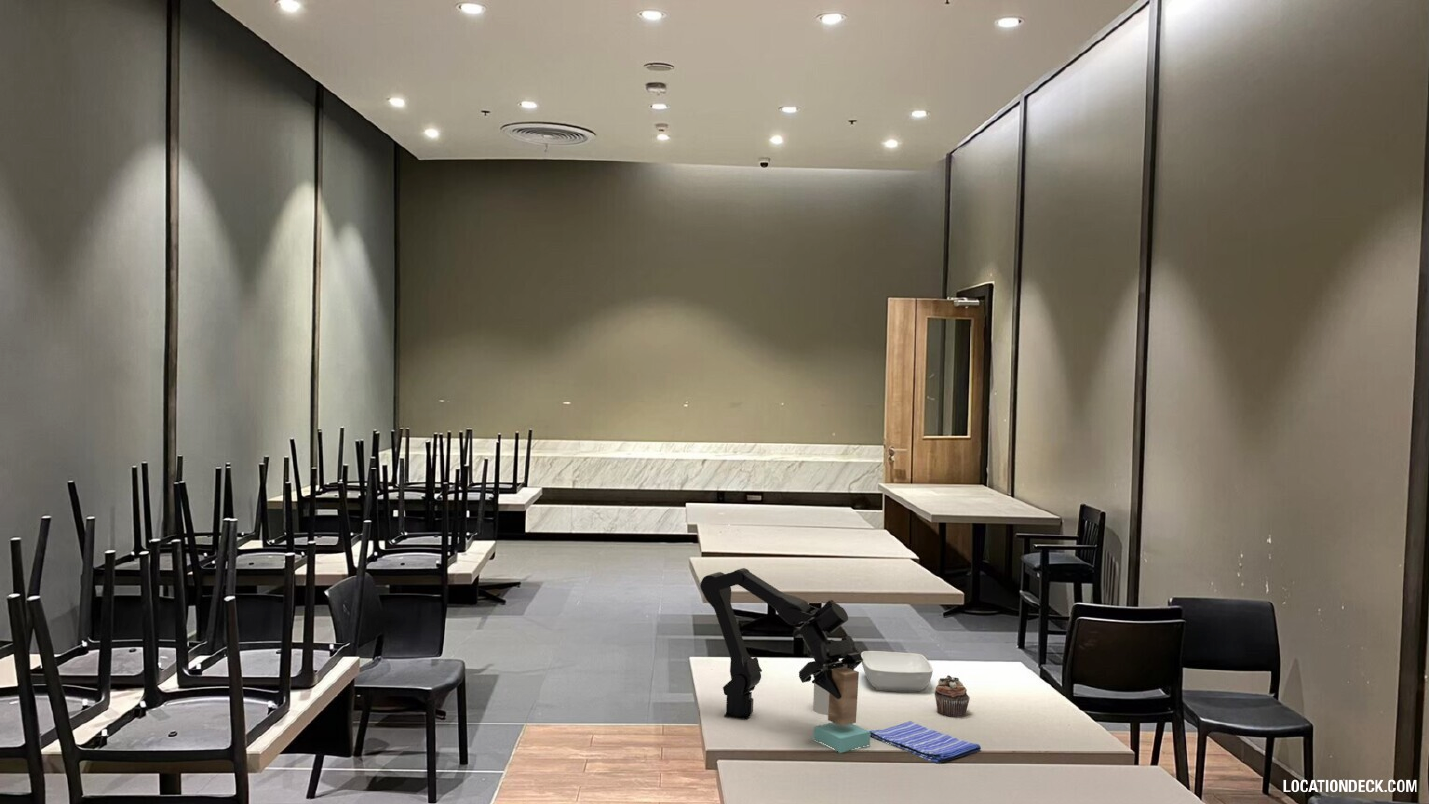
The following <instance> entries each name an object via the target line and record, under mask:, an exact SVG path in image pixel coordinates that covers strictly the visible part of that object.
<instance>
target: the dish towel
mask: <svg viewBox="0 0 1429 804" xmlns="http://www.w3.org/2000/svg"><path fill="white" fill-rule="evenodd" d="M869 731H870V736H872V738H873V739H875V738H876V739H875V740H877V739H878V741H880V742H882V743H885V742H887V743H889V744H891V745H890V746H892V745H893V746H892V747H895V746H896V747H895V748H898V749H900V750H902V751H904V752H907V753H910V754H913V755H915V756H916V757H920V758H922V759H924V760H927V761H929V762H932V763H935V764H942V763H945V762H947V761H951V760H953V759H957V758H960V757H964V756H966V755H970V754H973V753H976V752H979V751H980V750H981V749H982V748H981V747H982V746H981V745H980V744H978V743H973V742H968V741H965V740H963V739H959V738H957V737H954V736H951V735H949V734H946V733H943V732H939V731H937V730H935V729H932V728H928V727H925V726H922V725H920V724H919V723H917V722H913V721H910V720H909V721H908V722H904V723H900V724H897V725H894V726H890V727H888V728H884V729H876V730H869ZM887 743H886V744H887ZM889 744H888V745H889Z"/></svg>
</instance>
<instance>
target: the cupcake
mask: <svg viewBox="0 0 1429 804" xmlns="http://www.w3.org/2000/svg"><path fill="white" fill-rule="evenodd" d="M937 681H938V682H937V685H936V686H935V690H934V700H935V702H936V703H935V704H936V705H935V706H936V711H937V713H938V714H939V715H941V716H943V717H947V718H963V717H966V715H967V710H968V707H969V703H970V699H971V697H970V696H969V695H968V694H967V690H968V689H967V688H966V687H965V686H964V684H963V682H962V681H960V679H959V677H952V676H951V675H947V676H946V677H945V678H944V677H943V678H939V679H938V680H937Z"/></svg>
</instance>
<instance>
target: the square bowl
mask: <svg viewBox="0 0 1429 804" xmlns="http://www.w3.org/2000/svg"><path fill="white" fill-rule="evenodd" d="M860 655H861V657H862V658H863V661H862V662H861V666H862V668H863V671H864V674H865V677H866V679H867V681H868V682H869V683H870V684H871V685H872V686H873V687H874V688H875V690H878V691H887V692H888V691H891V692H911V693H913V692H915V693H919V692H920V691H922V690H923V689H925V688H926V687H928V685H929V684H930V682H931V679H932V677H933V670H934V669H933V666H932V665H931V663H930V662H929V661H930V660H928V659H927V657H925V656H924V655H923V654H921V653H916V652H915V653H914V652H901V651H900V652H898V651H897V652H896V651H895V652H894V651H882V650H881V651H880V650H864V651H862V652H861V653H860Z"/></svg>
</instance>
